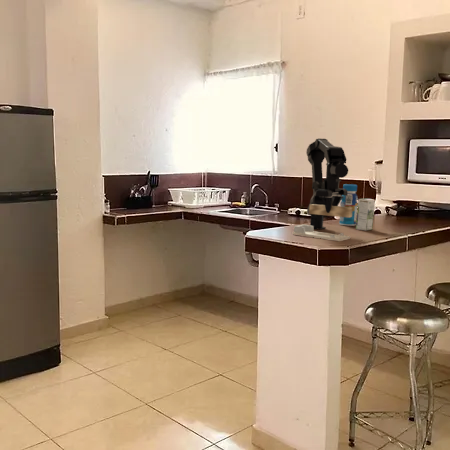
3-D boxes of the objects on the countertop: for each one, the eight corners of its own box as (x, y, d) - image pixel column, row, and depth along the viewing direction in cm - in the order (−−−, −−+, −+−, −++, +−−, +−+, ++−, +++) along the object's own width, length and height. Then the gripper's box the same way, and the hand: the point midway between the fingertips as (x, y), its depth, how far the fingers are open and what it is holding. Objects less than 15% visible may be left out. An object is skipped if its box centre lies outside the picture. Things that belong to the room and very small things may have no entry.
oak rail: (309, 213, 242) (309, 204, 241) (312, 213, 245) (312, 204, 245) (349, 217, 233) (349, 208, 233) (352, 216, 237) (352, 207, 236)
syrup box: (361, 228, 263) (364, 198, 261) (372, 230, 259) (375, 199, 257) (355, 229, 259) (357, 198, 257) (366, 231, 255) (368, 199, 253)
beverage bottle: (335, 224, 275) (337, 184, 272) (346, 223, 280) (349, 184, 277) (348, 226, 268) (350, 185, 265) (359, 225, 273) (362, 185, 270)
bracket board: (304, 232, 243) (304, 224, 243) (350, 238, 230) (350, 230, 229) (292, 234, 236) (292, 226, 235) (339, 241, 222) (339, 232, 222)
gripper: (326, 175, 249) (324, 209, 251) (305, 175, 235) (303, 212, 237) (349, 176, 242) (346, 211, 244) (328, 177, 228) (326, 214, 230)
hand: (330, 212), depth 239 cm, fingers closed on oak rail, 4 cm apart
